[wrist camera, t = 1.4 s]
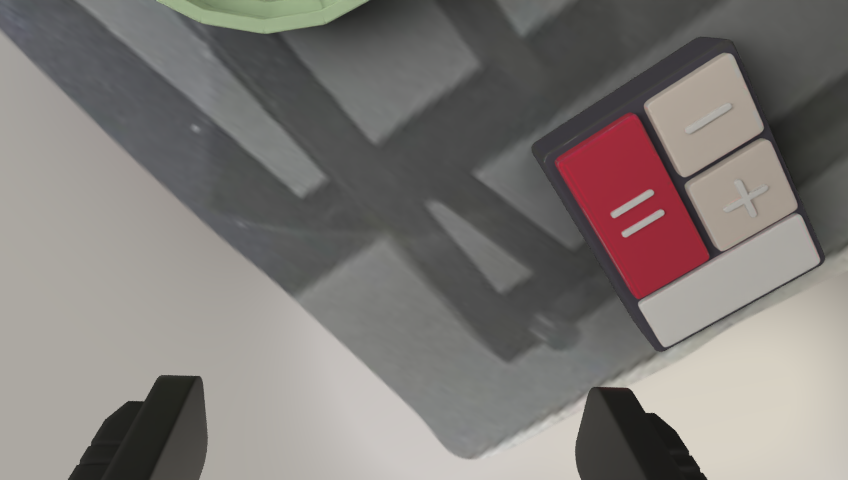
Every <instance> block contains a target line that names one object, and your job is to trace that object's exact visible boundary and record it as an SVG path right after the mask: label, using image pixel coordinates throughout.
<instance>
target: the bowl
mask: <svg viewBox="0 0 848 480" xmlns="http://www.w3.org/2000/svg"><path fill="white" fill-rule="evenodd" d="M156 1H158V2H159V3H161V4H163V5H165V6H167V7H169V8H171V9H173V10H175V11H177V12H179V13H181V14H183V15H185V16H187V17H189V18H191V19H193V20H195V21H197V22H199V23H203V24H207V25H213V26H219V27H225V28H231V29H237V30H243V31H248V32H254V33H260V34H270V33H276V32H282V31H289V30H295V29H301V28H307V27H314V26H320V25H325V24H328V23H329V22H331V21H333V20H335V19H337V18H339V17H340V16H342V15H344V14H346V13H348V12H350V11H351V10H353V9H355V8H357V7H359V6H361V5H362V4H364V3H366V2H368V1H370V0H156Z"/></svg>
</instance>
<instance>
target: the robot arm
mask: <svg viewBox="0 0 848 480" xmlns="http://www.w3.org/2000/svg"><path fill="white" fill-rule="evenodd" d="M207 439H208V437H207V423H206V412H205V400H204V389H203V382H202V379H201V377H200V376H176V375H175V376H173V375H161V376H159V377H158V378H157V380H156V382H155V383H154V385H153V387H152V389H151V391H150V393H149V394H148V396H147V398H146V400H145V401H144V402H143V401H128V402H126V403H125V404H124V405H123V406H122V407H120V408H119V409H118V410H117V411H115V412H114V413H113V414H112V415H110V416H109V417H108V418H107V419H105V421H104V422H103V424H102V426H101V427H100V429H99V430H98V432H97V434H96V435H95V437H94V438H93V440H92V442H91V446H89V447H88V448H87V450H86V451H85V453H84V455H83V456H82V458H81V459H80V464H79V465H77V466H76V468H75V469H74V471H73V472H72V474H71V475H70V477H69V479H68V480H199V478H200V475H201V472H202V469H203V466H204V462H205V458H206V452H207ZM575 456H576V464H577V469H578V472H579V475H580V478H581V480H707V478H706V477H705V475H704V474H703V473H701V472H700V468H699V466H698V465H697V463H696V461H695V460H694V458H693V457H692V456H690V455H689V451H688V449H687V448H686V446H685V445H684V443H683V442H682V440H681V439H680V437H679V435H678V434H677V432H676V431H675V430H674V429H673V428H672V427H670V426H669V425H668V424H667V423H666V422H665V421H663V420H662V419H661V418H660V417H659V416H657V415H656V414H655V413H645V411H644V410H643V408H642V406H641V405H640V403H639V401H638V400H637V398H636V397H635V395H634V394H633V392H632V391H631V390H630V389H629V388H613V387H593V388H591V390H590V391H589V393H588V397H587V401H586V405H585V409H584V413H583V417H582V421H581V424H580V428H579V432H578V437H577V440H576V447H575Z"/></svg>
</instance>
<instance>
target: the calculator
mask: <svg viewBox="0 0 848 480" xmlns="http://www.w3.org/2000/svg"><path fill="white" fill-rule="evenodd" d="M532 152H533V154H534V156H535V158H536V159H537V161H538V163H539V164H540V166H541V168H542V169H543V171H544V173H545V174H546V176H547V178H548V179H549V181H550V183H551V184H552V186H553V188H554V189H555V191H556V193H557V194H558V196H559V197H560V199H561V201H562V202H563V204H564V206H565V207H566V209H567V211H568V212H569V214H570V216H571V217H572V219H573V221H574V222H575V224H576V226H577V227H578V229H579V231H580V232H581V234H582V235H583V237H584V239H585V240H586V242H587V244H588V245H589V247H590V249H591V250H592V252H593V254H594V255H595V257H596V259H597V260H598V262H599V264H600V265H601V267H602V269H603V270H604V272H605V273H606V275H607V277H608V278H609V280H610V282H611V284H612V286H613V288H614V289H615V291H616V293H617V294H618V296H619V298H620V299H621V301H622V303H623V304H624V306H625V308H626V309H627V311H628V313H629V314H630V316H631V318H632V319H633V321H634V322H635V324H636V325H637V326H638V328H639V329H640V330H641V332H642V333H643V334H644V336H645V337H646V338H647V340H648V341H649V342H650V344H651V345H652V346H653V347H654V349H655V350H656V351H659V352H662V351H665V350H667V349H669V348H671V347H673V346H674V345H676V344H678V343H680V342H682V341H683V340H685V339H687V338H689V337H691V336H693V335H694V334H696V333H698V332H700V331H702V330H704V329H705V328H707V327H709V326H711V325H713V324H714V323H716V322H718V321H720V320H722V319H724V318H725V317H727V316H729V315H731V314H733V313H735V312H736V311H738V310H740V309H742V308H744V307H745V306H747V305H749V304H751V303H753V302H755V301H756V300H758V299H760V298H762V297H764V296H766V295H767V294H769V293H771V292H773V291H775V290H776V289H778V288H780V287H782V286H784V285H786V284H787V283H789V282H791V281H793V280H795V279H797V278H798V277H800V276H802V275H804V274H806V273H807V272H809V271H811V270H813V269H815V268H816V267H818V266H820V265H821V264H822V263H823V262H824V260H825V256H824V253H823V251H822V248H821V246H820V244H819V241H818V239H817V237H816V234H815V232H814V230H813V227H812V225H811V223H810V220H809V218H808V216H807V213H806V211H805V209H804V206H803V204H802V202H801V199H800V197H799V195H798V192H797V190H796V188H795V185H794V183H793V181H792V178H791V176H790V174H789V171H788V169H787V167H786V164H785V162H784V160H783V157H782V155H781V153H780V150H779V148H778V146H777V143H776V141H775V139H774V136H773V134H772V132H771V129H770V127H769V125H768V122H767V120H766V118H765V115H764V113H763V111H762V108H761V106H760V104H759V101H758V99H757V97H756V94H755V92H754V90H753V87H752V85H751V83H750V80H749V78H748V76H747V73H746V71H745V69H744V66H743V64H742V62H741V59H740V57H739V55H738V52H737V50H736V48H735V46H734V44H733V42H732V41H730V40H727V39H718V38H707V37H698V38H696V39H694V40H693V41H691V42H689V43H688V44H686V45H685V46H683V47H682V48H680V49H679V50H677V51H675V52H674V53H672V54H671V55H669V56H668V57H666V58H665V59H663V60H662V61H660V62H658V63H657V64H655V65H654V66H652V67H651V68H649V69H648V70H646V71H645V72H643V73H641V74H640V75H638V76H637V77H635V78H634V79H632V80H631V81H629V82H627V83H626V84H624V85H623V86H621V87H620V88H618V89H617V90H615V91H614V92H612V93H610V94H609V95H607V96H606V97H604V98H603V99H601V100H600V101H598V102H597V103H595V104H593V105H592V106H590V107H589V108H587V109H586V110H584V111H583V112H581V113H580V114H578V115H576V116H575V117H573V118H572V119H570V120H569V121H567V122H566V123H564V124H562V125H561V126H559V127H558V128H556V129H555V130H553V131H552V132H550V133H549V134H547V135H545V136H544V137H542V138H541V139H539V140H538V141H536V142H535V143H534V144H533V146H532Z"/></svg>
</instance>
